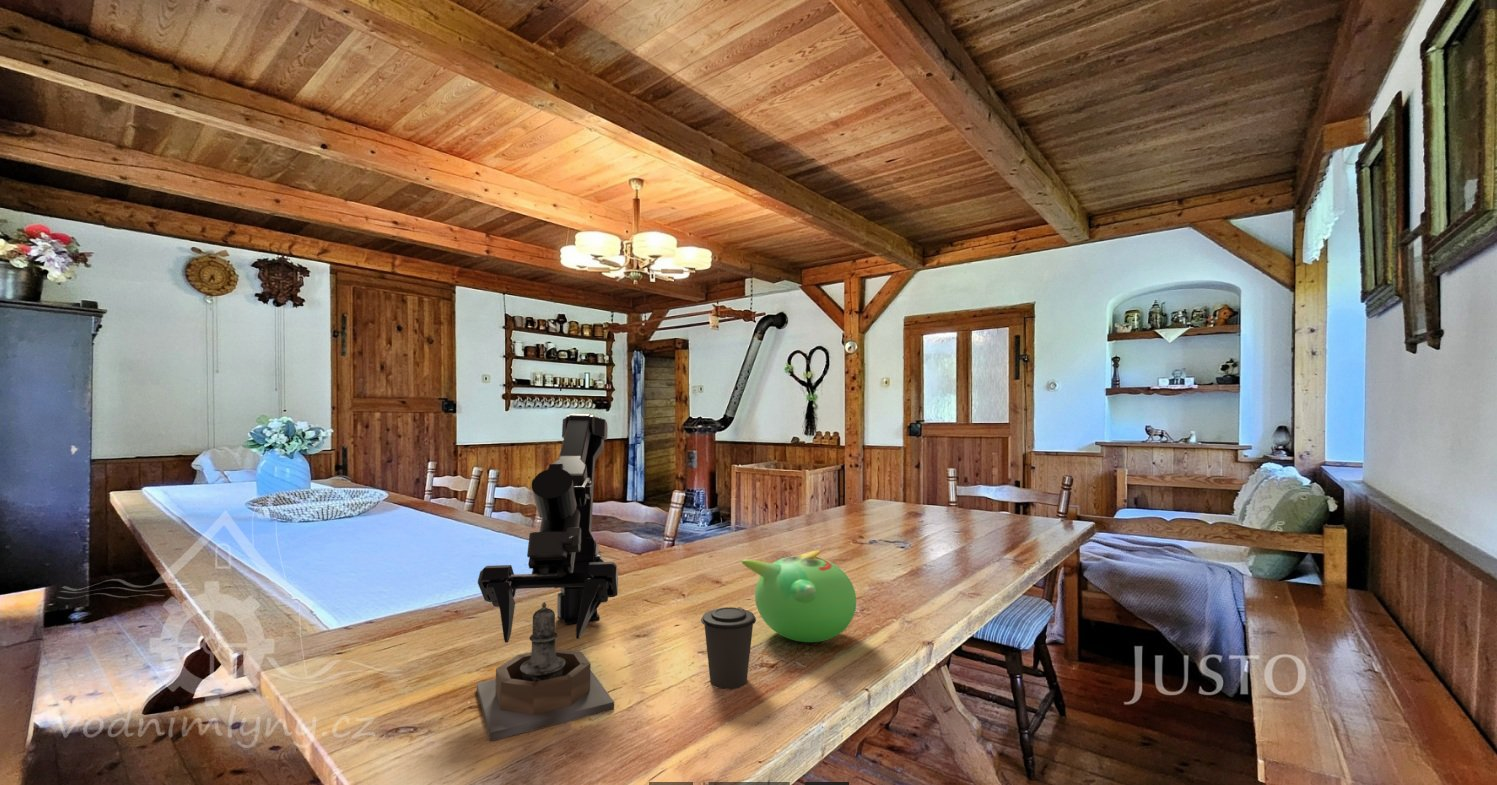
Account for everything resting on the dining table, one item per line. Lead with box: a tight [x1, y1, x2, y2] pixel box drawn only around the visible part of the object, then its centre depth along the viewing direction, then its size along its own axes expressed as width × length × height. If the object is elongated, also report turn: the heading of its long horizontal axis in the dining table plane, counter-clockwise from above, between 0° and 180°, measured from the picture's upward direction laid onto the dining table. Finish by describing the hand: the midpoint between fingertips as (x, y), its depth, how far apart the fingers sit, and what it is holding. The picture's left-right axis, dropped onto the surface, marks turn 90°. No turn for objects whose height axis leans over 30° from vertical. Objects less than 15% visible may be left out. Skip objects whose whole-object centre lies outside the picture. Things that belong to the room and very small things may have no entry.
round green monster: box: [741, 549, 857, 643], centre depth 103 cm, size 18×17×15 cm
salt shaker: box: [520, 601, 566, 682], centre depth 80 cm, size 6×6×12 cm
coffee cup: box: [700, 606, 757, 690], centre depth 86 cm, size 8×8×10 cm
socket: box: [476, 648, 615, 742], centre depth 80 cm, size 15×15×4 cm
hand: (542, 639), depth 79 cm, fingers open, 9 cm apart
